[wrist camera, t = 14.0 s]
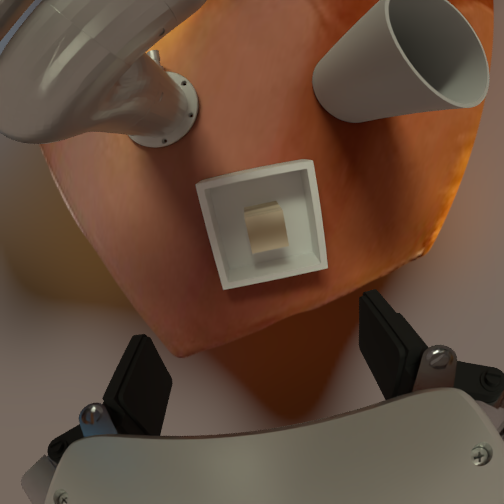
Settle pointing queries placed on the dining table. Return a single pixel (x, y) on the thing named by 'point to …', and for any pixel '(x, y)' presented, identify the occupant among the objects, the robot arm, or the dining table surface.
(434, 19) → the cylinder vase
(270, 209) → the birch block
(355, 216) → the dining table surface
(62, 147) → the dining table surface
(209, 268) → the dining table surface
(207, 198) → the bin
